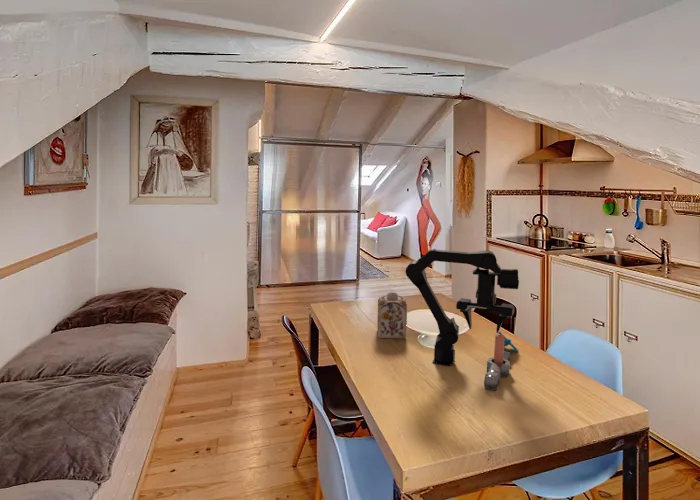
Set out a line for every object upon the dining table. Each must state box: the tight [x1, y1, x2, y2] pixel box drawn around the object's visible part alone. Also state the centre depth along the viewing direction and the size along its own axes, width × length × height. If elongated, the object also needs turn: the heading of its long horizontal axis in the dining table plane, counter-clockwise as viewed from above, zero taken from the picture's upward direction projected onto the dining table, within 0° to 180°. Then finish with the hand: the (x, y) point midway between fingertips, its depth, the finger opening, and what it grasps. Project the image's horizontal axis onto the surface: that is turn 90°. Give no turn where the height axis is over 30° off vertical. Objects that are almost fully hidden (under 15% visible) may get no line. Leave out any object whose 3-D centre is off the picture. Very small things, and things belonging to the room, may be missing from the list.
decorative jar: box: [377, 292, 408, 339], centre depth 182 cm, size 12×12×18 cm
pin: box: [493, 334, 506, 364], centre depth 145 cm, size 3×3×13 cm
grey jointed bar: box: [483, 350, 511, 392], centre depth 145 cm, size 7×30×4 cm, turn 152°
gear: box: [497, 330, 519, 353], centre depth 165 cm, size 11×6×10 cm
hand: (483, 330), depth 149 cm, fingers open, 9 cm apart
